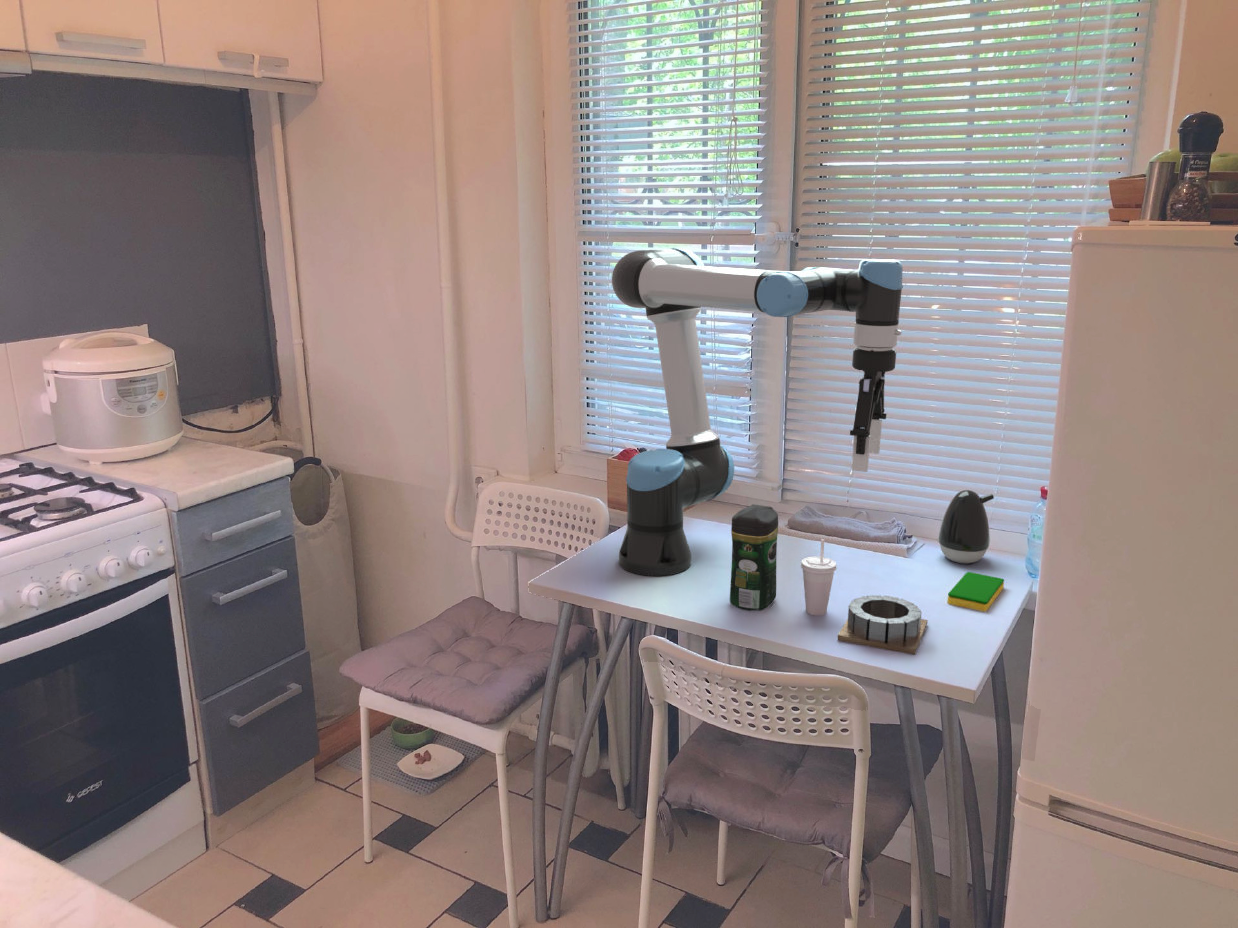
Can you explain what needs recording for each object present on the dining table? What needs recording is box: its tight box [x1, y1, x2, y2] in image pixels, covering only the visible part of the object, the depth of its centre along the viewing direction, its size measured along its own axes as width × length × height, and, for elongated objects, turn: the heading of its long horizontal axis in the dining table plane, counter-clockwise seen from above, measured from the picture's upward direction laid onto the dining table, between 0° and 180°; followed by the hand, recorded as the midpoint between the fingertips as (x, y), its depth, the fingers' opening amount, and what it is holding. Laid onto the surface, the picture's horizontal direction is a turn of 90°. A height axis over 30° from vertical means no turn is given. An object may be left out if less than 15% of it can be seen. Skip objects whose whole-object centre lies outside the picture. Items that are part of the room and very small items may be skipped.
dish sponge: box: [947, 571, 1005, 612], centre depth 185 cm, size 7×14×2 cm, turn 146°
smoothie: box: [800, 538, 837, 616], centre depth 177 cm, size 6×6×14 cm
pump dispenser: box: [937, 489, 995, 564], centre depth 202 cm, size 10×10×15 cm
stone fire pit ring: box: [837, 594, 929, 656], centre depth 169 cm, size 13×13×4 cm
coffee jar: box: [729, 504, 779, 612], centre depth 180 cm, size 10×8×19 cm
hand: (865, 461), depth 179 cm, fingers open, 13 cm apart
